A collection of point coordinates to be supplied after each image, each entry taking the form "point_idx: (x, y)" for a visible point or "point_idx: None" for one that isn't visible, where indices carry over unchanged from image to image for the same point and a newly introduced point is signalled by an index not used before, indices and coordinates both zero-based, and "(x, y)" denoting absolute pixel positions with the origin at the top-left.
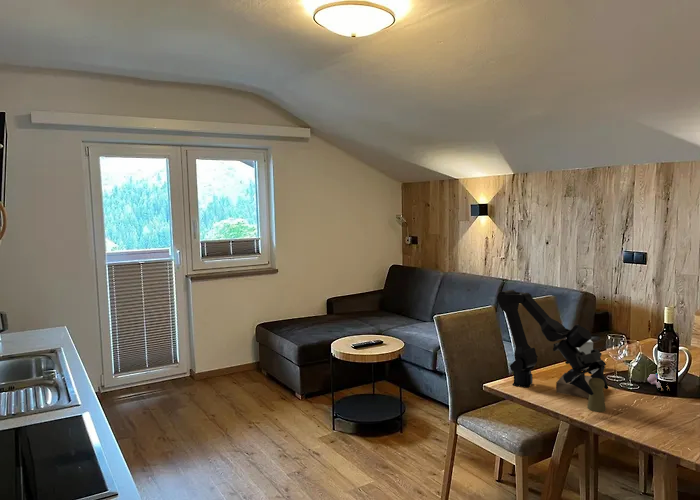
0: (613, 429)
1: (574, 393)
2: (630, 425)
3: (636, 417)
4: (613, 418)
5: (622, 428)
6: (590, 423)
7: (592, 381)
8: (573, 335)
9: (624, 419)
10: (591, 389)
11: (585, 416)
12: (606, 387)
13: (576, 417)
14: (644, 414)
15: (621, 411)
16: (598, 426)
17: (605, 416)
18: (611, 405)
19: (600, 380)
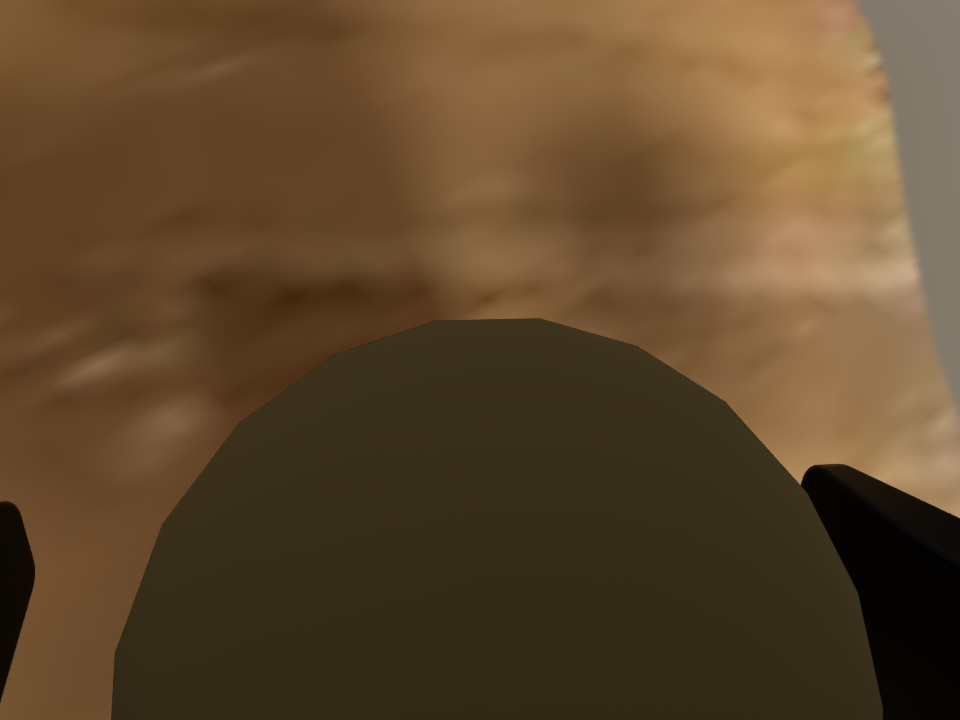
0: (808, 81)
1: None
2: (548, 13)
3: (239, 68)
4: (534, 236)
5: (699, 34)
6: (920, 329)
7: (876, 682)
8: None
9: (440, 133)
10: (905, 528)
11: None
12: (1, 559)
13: None
14: (31, 44)
15: (184, 299)
16: (897, 222)
17: None
18: (33, 558)
19: (534, 419)
